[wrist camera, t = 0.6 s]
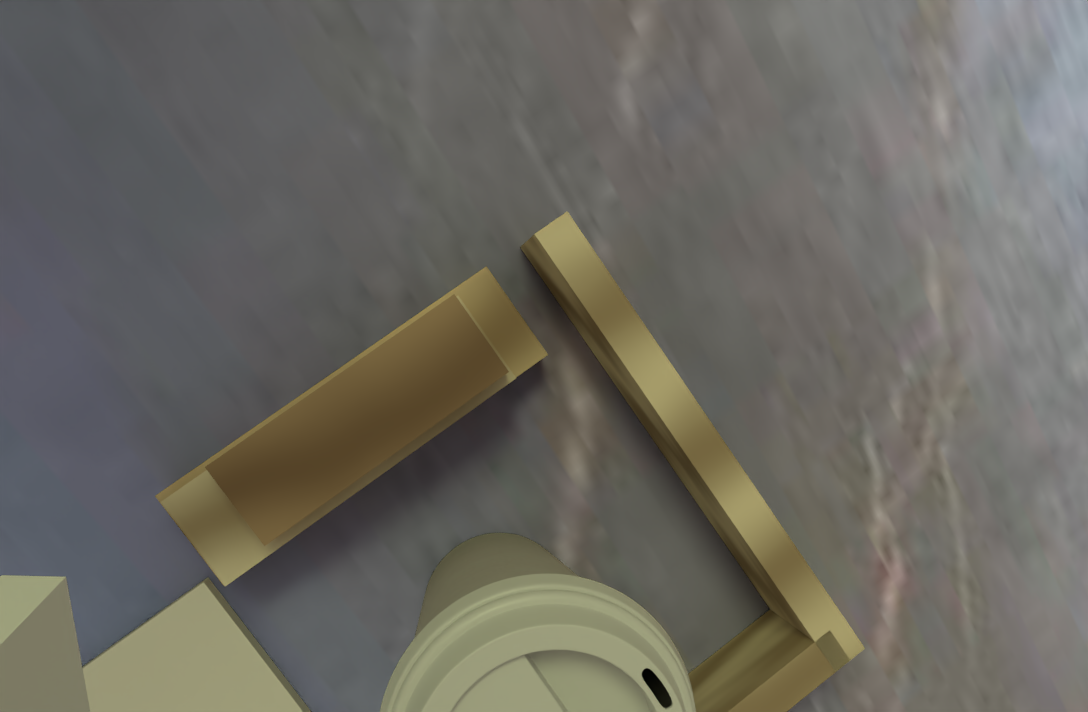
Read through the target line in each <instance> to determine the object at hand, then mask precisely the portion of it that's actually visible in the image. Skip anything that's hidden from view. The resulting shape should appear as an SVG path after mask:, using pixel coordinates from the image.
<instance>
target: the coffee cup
mask: <svg viewBox="0 0 1088 712" xmlns="http://www.w3.org/2000/svg"><path fill="white" fill-rule="evenodd" d="M380 712H696V708H695V702H694V696H693V691H692V687H691V683H690V679H689V676H688V673H687V670H686V667H685V665H684V663H683V660H682V658H681V656H680V654H679V652H678V650H677V648H676V647H675V645H674V643H673V642H672V640H671V639H670V637H669V636H668V634H667V633H666V632H665V630H664V629H663V628H662V626H661V625H660V624H659V623H658V622H657V621H656V620H655V619H654V618H653V617H652V616H651V615H650V614H649V613H648V612H647V611H646V610H645V609H644V608H643V607H641V606H640V605H639V604H638V603H636V602H635V601H633V600H632V599H631V598H629V597H627V596H626V595H624V594H623V593H621V592H619V591H617V590H615V589H613V588H611V587H609V586H606V585H604V584H602V583H599V582H596V581H593V580H590V579H586V578H582V577H579V576H578V575H576V574H575V573H574V572H573V571H571V570H570V569H569V568H568V567H567V566H565V565H564V564H563V563H562V562H560V561H559V560H558V559H557V558H555V557H554V556H553V555H552V554H551V553H549V552H548V551H547V550H546V549H544V548H543V547H542V546H540V545H539V544H537V543H536V542H534V541H532V540H530V539H528V538H525V537H523V536H519V535H515V534H510V533H489V534H484V535H480V536H477V537H474V538H471V539H469V540H467V541H465V542H463V543H461V544H460V545H458V546H457V547H455V548H454V549H453V550H451V551H450V552H449V553H448V554H447V555H446V556H445V557H444V558H443V559H442V561H441V562H440V563H439V564H438V566H437V567H436V569H435V570H434V572H433V574H432V576H431V578H430V580H429V583H428V586H427V589H426V593H425V597H424V601H423V605H422V609H421V613H420V617H419V622H418V626H417V630H416V634H415V638H414V640H413V641H412V643H411V644H410V645H409V647H408V648H407V649H406V651H405V652H404V654H403V656H402V657H401V659H400V661H399V662H398V664H397V666H396V668H395V670H394V672H393V674H392V676H391V678H390V681H389V683H388V686H387V688H386V691H385V694H384V697H383V701H382V704H381V708H380Z"/></svg>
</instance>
